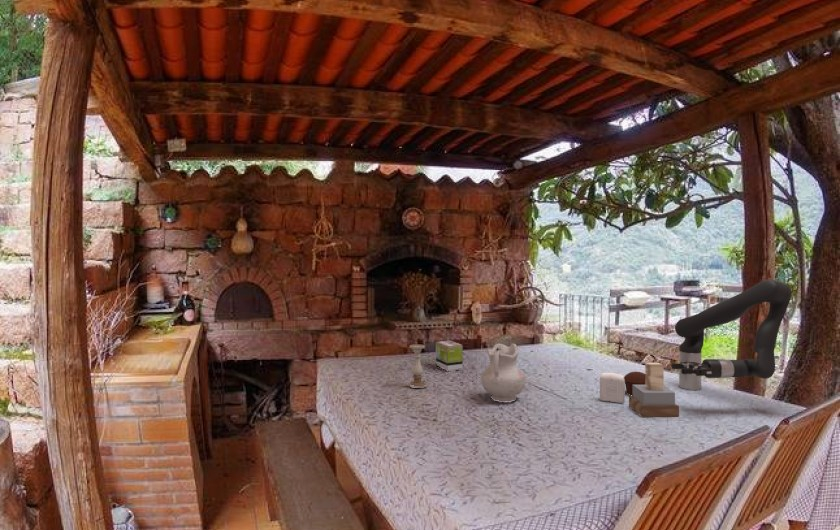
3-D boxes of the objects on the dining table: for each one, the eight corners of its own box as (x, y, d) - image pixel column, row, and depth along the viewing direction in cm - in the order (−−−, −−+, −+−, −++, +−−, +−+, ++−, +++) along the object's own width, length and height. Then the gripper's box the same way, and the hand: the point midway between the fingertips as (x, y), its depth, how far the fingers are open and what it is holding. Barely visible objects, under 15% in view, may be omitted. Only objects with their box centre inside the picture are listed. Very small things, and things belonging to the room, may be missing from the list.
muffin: (622, 395, 225) (622, 373, 224) (624, 389, 234) (624, 368, 234) (651, 399, 219) (650, 376, 219) (652, 392, 229) (652, 371, 229)
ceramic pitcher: (523, 410, 208) (528, 351, 207) (477, 404, 212) (481, 346, 211) (523, 396, 229) (527, 343, 228) (481, 391, 233) (485, 338, 232)
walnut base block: (628, 407, 209) (628, 395, 209) (662, 407, 208) (662, 395, 208) (642, 418, 195) (642, 405, 195) (679, 418, 194) (679, 406, 194)
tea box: (435, 367, 286) (434, 341, 286) (450, 365, 290) (450, 339, 290) (447, 372, 272) (447, 345, 272) (463, 370, 277) (463, 344, 276)
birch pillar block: (645, 387, 203) (645, 362, 203) (657, 387, 203) (657, 362, 203) (651, 390, 198) (650, 365, 198) (663, 390, 198) (663, 365, 198)
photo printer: (625, 401, 216) (625, 373, 216) (624, 404, 212) (624, 375, 212) (600, 398, 221) (600, 370, 221) (598, 401, 217) (598, 372, 217)
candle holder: (419, 390, 237) (418, 348, 237) (404, 387, 242) (404, 346, 242) (430, 386, 244) (429, 345, 244) (415, 383, 249) (415, 343, 249)
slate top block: (632, 396, 208) (632, 384, 208) (661, 396, 207) (661, 384, 207) (643, 405, 196) (643, 392, 196) (675, 405, 195) (674, 392, 195)
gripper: (708, 355, 208) (668, 355, 208) (727, 363, 193) (685, 363, 194) (708, 373, 208) (668, 373, 208) (727, 382, 193) (685, 382, 194)
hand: (676, 368), depth 201 cm, fingers open, 8 cm apart
